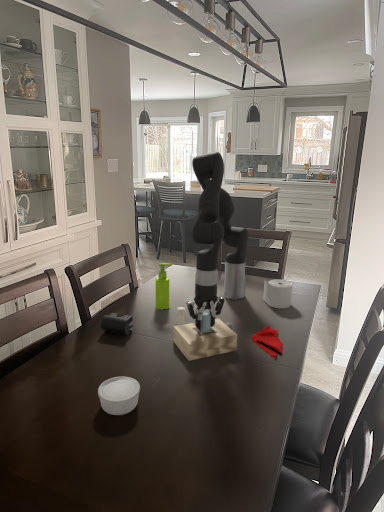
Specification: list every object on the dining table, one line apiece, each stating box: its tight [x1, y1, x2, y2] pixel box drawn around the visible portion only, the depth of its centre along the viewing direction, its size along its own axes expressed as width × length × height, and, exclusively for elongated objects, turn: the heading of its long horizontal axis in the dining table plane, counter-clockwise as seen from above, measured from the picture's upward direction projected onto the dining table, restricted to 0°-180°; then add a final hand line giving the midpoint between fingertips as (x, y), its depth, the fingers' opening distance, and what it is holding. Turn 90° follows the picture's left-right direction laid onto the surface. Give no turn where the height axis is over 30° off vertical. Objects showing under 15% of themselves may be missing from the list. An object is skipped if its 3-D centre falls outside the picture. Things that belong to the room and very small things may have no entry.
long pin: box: [201, 312, 211, 334], centre depth 133 cm, size 3×3×12 cm
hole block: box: [172, 317, 238, 362], centre depth 134 cm, size 18×14×6 cm
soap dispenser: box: [155, 262, 173, 311], centre depth 164 cm, size 6×7×20 cm
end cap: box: [100, 312, 134, 336], centre depth 142 cm, size 10×7×7 cm
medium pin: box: [176, 306, 186, 326], centre depth 148 cm, size 3×3×8 cm
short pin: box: [223, 321, 233, 330], centre depth 141 cm, size 3×3×5 cm
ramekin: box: [97, 376, 141, 416], centre depth 103 cm, size 11×11×5 cm
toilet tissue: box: [262, 278, 293, 309], centre depth 171 cm, size 11×12×10 cm
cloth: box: [250, 325, 284, 361], centre depth 139 cm, size 26×14×2 cm, turn 162°
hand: (204, 327), depth 133 cm, fingers open, 4 cm apart
